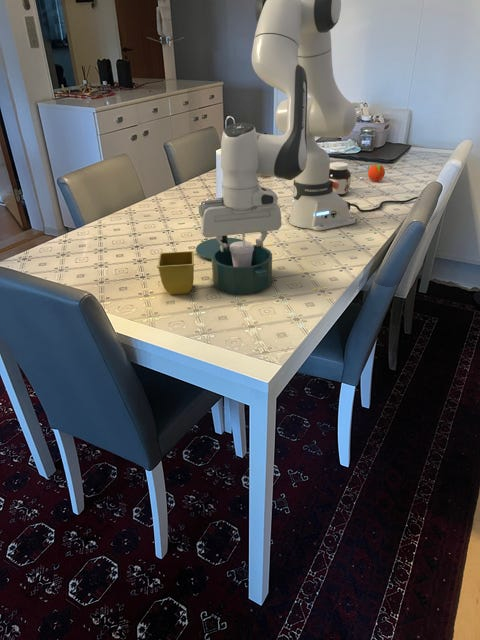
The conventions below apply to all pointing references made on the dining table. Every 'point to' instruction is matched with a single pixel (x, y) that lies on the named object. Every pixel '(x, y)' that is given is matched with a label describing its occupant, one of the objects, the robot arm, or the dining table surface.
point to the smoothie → (241, 253)
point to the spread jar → (340, 177)
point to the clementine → (376, 172)
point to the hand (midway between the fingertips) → (241, 249)
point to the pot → (242, 272)
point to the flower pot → (177, 271)
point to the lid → (213, 246)
